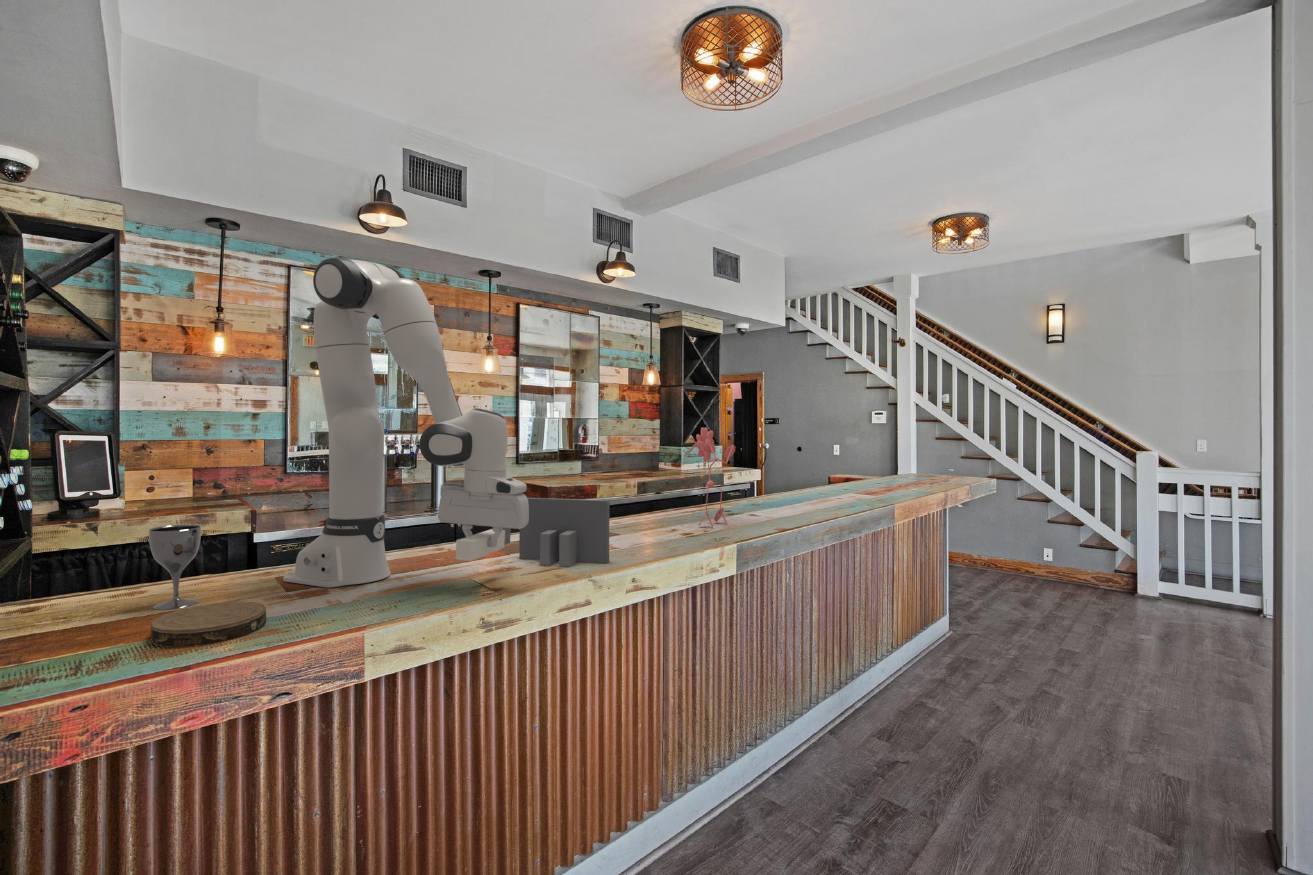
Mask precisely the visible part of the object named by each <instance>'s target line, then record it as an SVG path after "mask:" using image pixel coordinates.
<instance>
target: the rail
mask: <svg viewBox="0 0 1313 875" xmlns="http://www.w3.org/2000/svg"><path fill="white" fill-rule="evenodd" d="M511 530H512V528H503V531H502V533H501V534H500V536H499V537H498V538H497V546H496V547H488V546H487V544H488V542H487V540H488V539H490V538H492V536H493V535H494V533H495V532H493V528H490V529H488V530H485V531H481V532H477V533H475V534H473V535H471V536H468V537H466V536H465V537H462V538H459V539H456V540H455V541H456V544H455V560H458V561H467V562H468V561H469V562H471V561H474V560H478V559H479V558H482V557H484V556H487V555H490V554H492V553H494V552H497V551H500V550H502V549H505V546H506V545H509V544H510V543H511Z"/></svg>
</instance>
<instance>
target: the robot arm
mask: <svg viewBox="0 0 1313 875" xmlns="http://www.w3.org/2000/svg"><path fill="white" fill-rule="evenodd" d="M312 279H313V280H312V282H313V284H312V285H313V288H314V289H313V290H314V292H315V294H316V296H317V297H318V298H319V299H320V301H319V302H317V304H316V305H315V306H314V310H313V338H314V339H313V341H314V348H315V355H316V361H317V367H318V373H319V374H318V375H319V380H320V385H321V391H322V396H323V402H324V403H323V404H324V410H325V415H326V421H327V428H328V473H329V474H328V479H329V480H328V482H329V483H328V489H329V490H328V491H329V493H328V494H329V495H328V496H329V498H328V501H329V502H328V506H329V509H328V510H329V511H328V512H329V516H328V517H327V518H325V520H320V521H317V522H318V523H320V524H318V527H322V526H323V528H322V534H320V535H319V536H318V537H316V538H315V539H313V540H312V541H311V542H310V543H308V545H306V546H305V547H303V548H302V549H301V550H300V551H299V553H298V554H297V556H296V560H295V567H294V568H295V569H294V571H291V572H289V573H287V574H285V575H284V576H283V580H282V581H283V582H287V583H292V584H293V583H295V584H301V585H307V586H315V587H321V588H327V589H329V588H336V587H343V586H349V585H358V584H365V583H366V584H367V583H371V582H372V583H373V582H376V581H379V580H380V581H381V580H383V579H385V578H388V577H389V576H391V574H392V573H391V570H390V568H389V564H388V560H387V555H386V554H387V553H386V549H385V532H386V519H385V516H386V515H385V514H384V513H383V511H384V510H383V509H384V508H383V504H384V503H383V502H384V501H383V500H384V499H383V496H384V495H383V493H384V491H383V488H384V487H383V486H384V485H383V484H384V481H383V480H384V460H385V459H384V457H385V455H384V454H385V427H384V424H383V422H382V420H381V418H380V414H379V407H378V399H377V398H378V397H377V391H376V390H377V389H376V388H377V387H376V380H375V372H374V368H373V365H374V364H373V361H372V360H373V359H372V353H371V346H370V341H369V334H368V324H369V321H370V319H371V318H373V319H376V320H379V322H380V324H381V328H382V332H383V336H384V339H385V341H386V344H387V347H388V349H389V352H390V354H391V356H392V357H393V359H394V361H395V363H396V365H397V366H399V367H400V368H401V369H402V370H403V371H404V372H406V373H407V374H408V375H409V376H410V377H411V378H413V380H414V381H416V383H417V384H418V385H419V386H420V388H421V390H422V391H423V393H424V396H425V399H426V401H427V404H428V407H429V410H430V412H431V416H432V418H433V422H434V424H432V425H430V426H427V427H426V429H424V431H423V432H422V434H421V435H420V438H419V451H420V454H421V455H422V457H423V458H424V460H426V461H427V462H428V463H429V464H432V465H435V466H437V467H452V466H454V467H461V466H464V476H463V477H464V478H463V480H462V481H461V480H458V481H454V480H446V482H444V483H442V485H440V486H441V487H440V493H439V494H440V499H439V504H438V510H437V519H438V521H439V522H440V523H447V524H459V525H462V526H461V527H462V528H461V530H462V532H463V533H464V536H465V537H468V536H471V535H474V534H473V532H472V529H473V526H478V527H479V526H480V527H492V529H493V532H495V533H494V535H493V536H492V538H490V539H488V540H487V542H488V544H487V546H488V547H496V546H497V538H498V537H499V536H500V534H501V533H502V531H503V528H511V529H515V530H516V529H517V530H519V529H521V528H524V527H526V525H527V524H528V522H529V504H528V499H527V498H528V497H527V496H526V494H524V493H526V492H527V487H528V486H527V483H525V482H524V481H520V480H518V479H515V478H513V477H511V476H509V475H507V466H506V456H507V453H508V443H509V442H508V439H509V438H508V435H509V434H508V425H507V419H506V418H505V417H504V416H503V414H501V413H499V412H496V411H492V410H488V409H485V408H484V409H483V408H471V409H470V410H469V411H468V412H466V413H464V414H463V412H462V410H461V407H460V405H459V402H458V399H457V397H456V394H455V391H454V387H453V384H452V382H451V379H450V376H449V372H448V367H447V363H446V359H445V358H446V357H445V353H444V348H443V344H442V339H441V334H440V330H439V327H438V324H437V320H436V316H435V315H434V312H433V310H432V307H431V305H430V302H429V300H428V298H427V296H426V294H425V292H424V290H423V289H422V287H421V285H420V284H419V283H418V282H417V281H414V280H412V279H410V278H407V277H406V276H405V275H404V274H403V273H402V272H400V270H397V269H395V268H394V267H391V266H388V265H382V264H380V263H376V262H374V261H369V260H362V259H361V260H360V259H349V258H348V257H339V256H338V257H337V256H336V257H329V258H326V259H324V260H321V262H319V264H318V265H317V266H316V268H315V270H314V272H313V278H312Z"/></svg>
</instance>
